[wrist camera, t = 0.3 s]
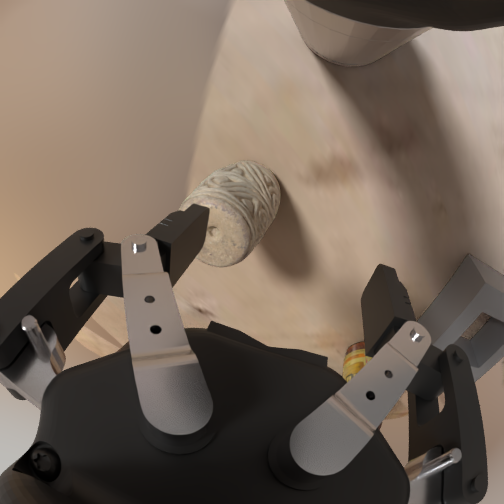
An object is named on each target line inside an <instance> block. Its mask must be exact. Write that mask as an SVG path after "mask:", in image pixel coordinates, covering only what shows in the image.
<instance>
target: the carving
mask: <svg viewBox="0 0 504 504" xmlns="http://www.w3.org/2000/svg"><path fill="white" fill-rule="evenodd" d="M280 197H281V192H280V187H279V184H278V181H277V179H276V177H275V176H274V174H273V173H272V172H271V171H270V170H269V169H268V168H267V167H265V166H264V165H262V164H259V163H257V162H254V161H239V162H236V163H234V164H231V165H228V166H227V167H223V168H221V169H218V170H216V171H214V172H213V173H212V174H211V175H210V176H209V177H207V178H206V179H205V180H204V181H203V182H201V184H200V185H199V186H198V187H197V188H196V189H195V190H194V191H193V193H192V194H191V195H190V196H189V197H187V198H186V199H185V200H184V202H183V203H182V205H181V207H180V209H179V210H181V211H185V210H186V209H187V208H188V207H190V206H191V205H192V204H193V203H195V204H198V205H201V206H205V207H208V208H209V209H210V214H209V220H208V226H207V232H206V239H205V242H204V245H203V248H202V249H201V251H200V252H199V253H198V255H197V256H196V257H195V258H196V259H198V260H199V261H201V262H203V263H205V264H208V265H211V266H215V267H228V266H231V265H234V264H237V263H239V262H241V261H243V260H244V259H245V258H246V257H247V256H248V255H249V254H250V253H251V252H252V251H253V249H254V247H256V245H257V244H258V243H259V242H260V241H261V239H262V238H263V236H264V234H265V232H266V230H267V229H268V228H269V226H270V225H271V223H272V222H273V220H274V219H275V217H276V214H277V211H278V208H279V204H280ZM179 210H178V211H179Z"/></svg>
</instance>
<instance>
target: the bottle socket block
mask: <svg viewBox="0 0 504 504" xmlns="http://www.w3.org/2000/svg"><path fill="white" fill-rule="evenodd" d="M482 312H483V313H485V314H488V315H490V316H492V317H491V318H490V319H489V320H488V321H487V322H486V324H485V325H484V326H483V327H482V328H481V329H480V330H479V331H478V332H477V333H476V335H475V336H474V337H473V338H472V339H471V340H469V339H466V338H463V337H460V336H461V335H462V334H463V333H464V332H465V331H466V330H467V329H468V327H469V326H470V325H471V324H472V323H473V322H474V321H475V320H476V319H477V317H478V316H479V315H480V314H481V313H482ZM417 323H419V324H421V325H422V326H423V327H425V328H426V330H427V331H428V332H429V334H430V336H431V344H432V345H433V346H435V347H437V348H439V349H440V350H442V351H444V349H445V348H446V347H447V346H448V345H450V344H455V345H457V346H459V347H460V348H461V349H463V351H464V352H465V353H466V355H467V356H468V359H469V362H470V366H471V370H472V373H473V377H474V382H476V381H477V380H478V379H479V378H480V377H481V376H483V375H484V374H485V373H486V372H487V371H488V370H489V369H491V368H492V367H493V366H494V365H495V364H496V363H497V362H498V361H499V360H500V359H501V358H502V357H504V275H502V274H501V273H499V272H498V271H496V270H494V269H493V268H491V267H490V266H488V265H486V264H485V263H483V262H481V261H480V260H478V259H476V258H475V257H473V256H471V255H470V254H468V255H467V256H466V258H465V259H464V261H463V262H462V263H461V265H460V266H459V268H458V269H457V271H456V272H455V274H454V275H453V276H452V278H451V279H450V280H449V282H448V283H447V284H446V286H445V287H444V288H443V290H442V291H441V292H440V294H439V295H438V296H437V298H436V299H435V300H434V301H433V303H432V304H431V305H430V306H429V308H428V309H427V310H426V311H425V312H424V314H423V315H422V316H421V317H420V318H419V319H418V321H417Z"/></svg>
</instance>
